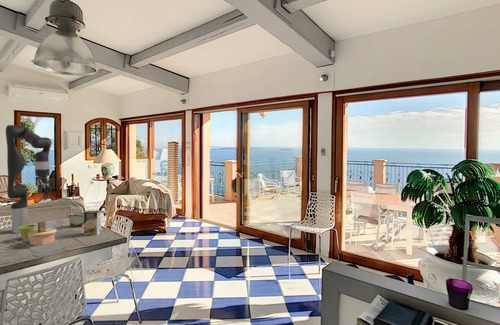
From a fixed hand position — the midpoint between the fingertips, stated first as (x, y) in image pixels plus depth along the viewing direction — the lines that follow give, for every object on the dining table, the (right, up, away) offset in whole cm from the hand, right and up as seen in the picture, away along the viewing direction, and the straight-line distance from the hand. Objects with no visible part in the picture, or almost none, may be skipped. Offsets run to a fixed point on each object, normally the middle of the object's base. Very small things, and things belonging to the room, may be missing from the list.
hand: (43, 193), depth 191 cm
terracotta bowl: (+4, -30, -7) cm, 31 cm away
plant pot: (-10, -30, 0) cm, 32 cm away
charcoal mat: (+9, -30, +9) cm, 32 cm away
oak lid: (+4, -24, -7) cm, 26 cm away
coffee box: (+27, -30, +10) cm, 41 cm away
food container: (+5, -29, +31) cm, 42 cm away
